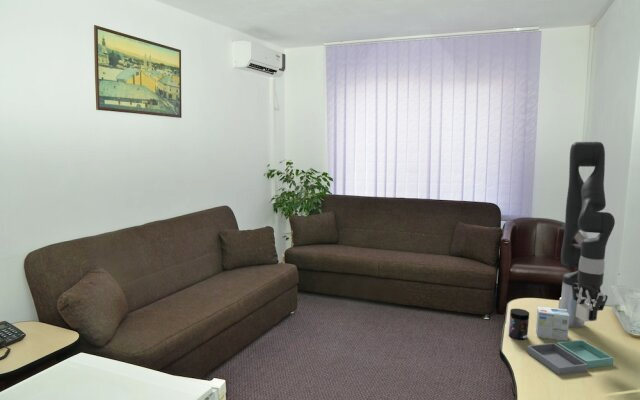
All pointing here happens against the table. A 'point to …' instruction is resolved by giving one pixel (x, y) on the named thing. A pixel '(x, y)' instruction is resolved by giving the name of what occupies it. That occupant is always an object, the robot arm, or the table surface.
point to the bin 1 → (557, 359)
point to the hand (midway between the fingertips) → (586, 317)
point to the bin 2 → (587, 353)
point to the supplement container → (518, 324)
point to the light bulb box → (552, 323)
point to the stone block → (583, 312)
